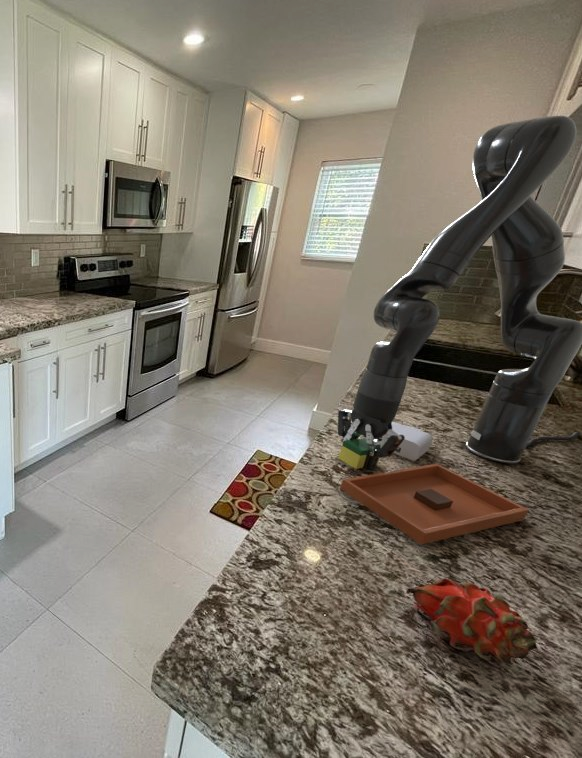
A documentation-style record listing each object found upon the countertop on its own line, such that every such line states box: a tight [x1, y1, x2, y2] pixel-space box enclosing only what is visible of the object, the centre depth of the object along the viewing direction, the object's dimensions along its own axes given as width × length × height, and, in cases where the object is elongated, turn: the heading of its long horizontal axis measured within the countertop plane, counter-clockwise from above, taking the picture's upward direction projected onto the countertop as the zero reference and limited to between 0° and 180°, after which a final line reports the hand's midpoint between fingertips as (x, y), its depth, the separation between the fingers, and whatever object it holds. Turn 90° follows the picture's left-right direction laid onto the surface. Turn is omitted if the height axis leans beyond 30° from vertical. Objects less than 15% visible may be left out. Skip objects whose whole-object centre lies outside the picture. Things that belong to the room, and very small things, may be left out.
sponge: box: [338, 437, 380, 470], centre depth 91 cm, size 6×4×5 cm
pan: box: [339, 463, 530, 545], centre depth 78 cm, size 26×16×3 cm, turn 106°
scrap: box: [414, 489, 453, 511], centre depth 78 cm, size 4×4×2 cm
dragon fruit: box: [405, 577, 538, 666], centre depth 51 cm, size 8×8×12 cm
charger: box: [374, 421, 434, 462], centre depth 99 cm, size 5×9×15 cm
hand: (356, 462), depth 91 cm, fingers closed on sponge, 4 cm apart
